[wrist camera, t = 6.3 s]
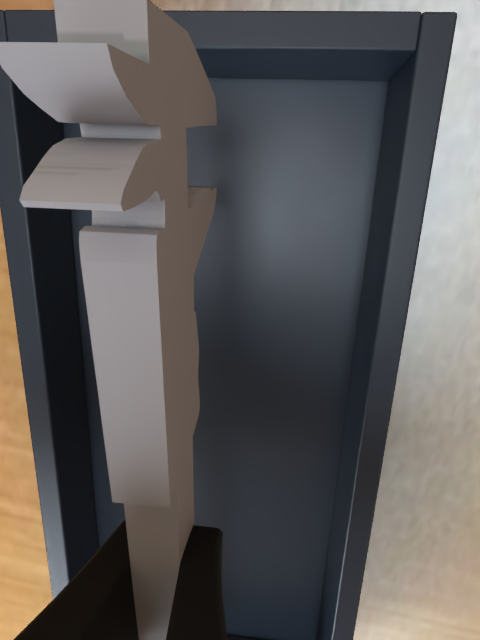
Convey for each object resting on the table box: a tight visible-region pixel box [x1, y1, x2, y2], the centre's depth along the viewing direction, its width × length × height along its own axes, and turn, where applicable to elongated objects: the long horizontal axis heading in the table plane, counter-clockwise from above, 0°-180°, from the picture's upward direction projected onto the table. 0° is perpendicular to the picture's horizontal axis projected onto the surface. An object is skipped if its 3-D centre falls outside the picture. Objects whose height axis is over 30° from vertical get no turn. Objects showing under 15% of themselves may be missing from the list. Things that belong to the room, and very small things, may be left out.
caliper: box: [0, 0, 217, 640], centre depth 8 cm, size 20×1×6 cm, turn 178°
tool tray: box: [0, 10, 457, 640], centre depth 14 cm, size 12×25×3 cm, turn 178°
